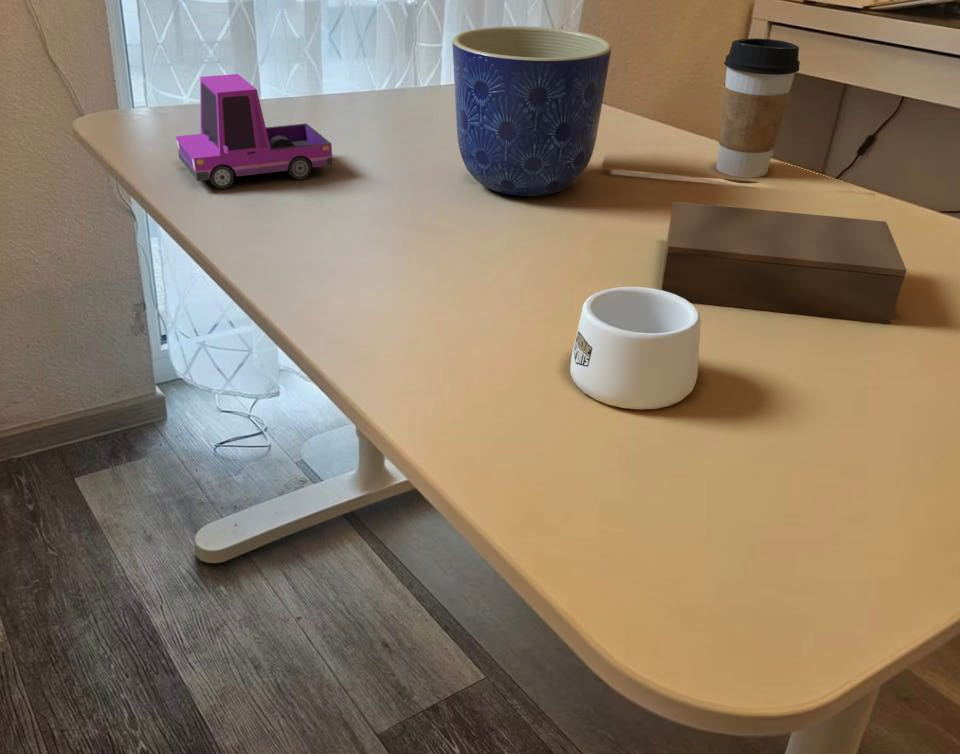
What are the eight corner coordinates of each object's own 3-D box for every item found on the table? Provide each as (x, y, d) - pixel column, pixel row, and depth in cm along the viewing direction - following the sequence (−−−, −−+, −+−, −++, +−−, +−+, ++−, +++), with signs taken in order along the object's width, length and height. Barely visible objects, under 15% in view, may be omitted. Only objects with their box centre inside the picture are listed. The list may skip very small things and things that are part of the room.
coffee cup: (699, 180, 114) (721, 43, 105) (713, 161, 120) (735, 30, 111) (770, 191, 111) (799, 51, 102) (780, 171, 117) (809, 38, 108)
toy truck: (179, 167, 112) (164, 75, 106) (306, 153, 117) (299, 65, 111) (201, 195, 104) (187, 99, 98) (336, 179, 110) (330, 87, 104)
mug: (716, 406, 71) (731, 332, 67) (595, 420, 69) (604, 345, 65) (651, 334, 80) (662, 266, 76) (543, 345, 78) (548, 275, 74)
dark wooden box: (871, 271, 93) (886, 221, 90) (889, 324, 83) (907, 270, 80) (665, 250, 95) (672, 201, 92) (660, 299, 86) (668, 245, 83)
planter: (621, 202, 106) (639, 55, 97) (478, 216, 102) (483, 61, 92) (562, 158, 119) (572, 23, 110) (432, 167, 114) (432, 28, 105)
